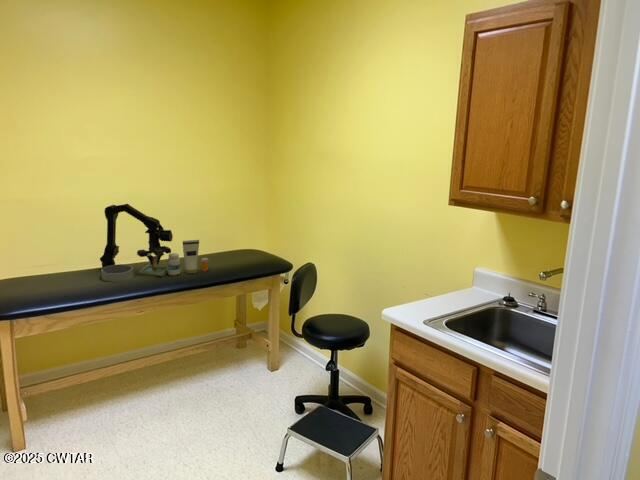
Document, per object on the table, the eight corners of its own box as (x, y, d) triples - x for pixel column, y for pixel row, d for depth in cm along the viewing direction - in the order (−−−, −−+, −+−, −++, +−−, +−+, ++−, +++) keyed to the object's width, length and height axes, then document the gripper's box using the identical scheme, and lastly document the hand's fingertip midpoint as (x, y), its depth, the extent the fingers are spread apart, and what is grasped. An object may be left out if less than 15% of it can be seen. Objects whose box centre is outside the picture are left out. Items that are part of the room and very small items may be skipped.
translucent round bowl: (95, 281, 252) (95, 272, 251) (111, 272, 268) (110, 263, 267) (124, 284, 251) (124, 274, 250) (138, 274, 268) (137, 265, 266)
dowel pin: (151, 270, 271) (151, 257, 269) (153, 268, 274) (153, 255, 272) (156, 270, 271) (155, 257, 269) (158, 268, 273) (158, 256, 271)
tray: (139, 274, 267) (139, 270, 267) (148, 268, 279) (147, 264, 278) (162, 276, 267) (162, 273, 266) (170, 270, 278) (170, 266, 277)
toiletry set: (169, 276, 269) (168, 243, 263) (166, 272, 275) (165, 240, 270) (210, 272, 281) (210, 240, 276) (206, 268, 287) (206, 237, 282)
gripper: (143, 245, 256) (144, 271, 260) (174, 241, 268) (175, 266, 272) (136, 240, 264) (137, 266, 268) (167, 237, 276) (167, 261, 280)
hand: (154, 265), depth 271 cm, fingers closed on dowel pin, 3 cm apart
